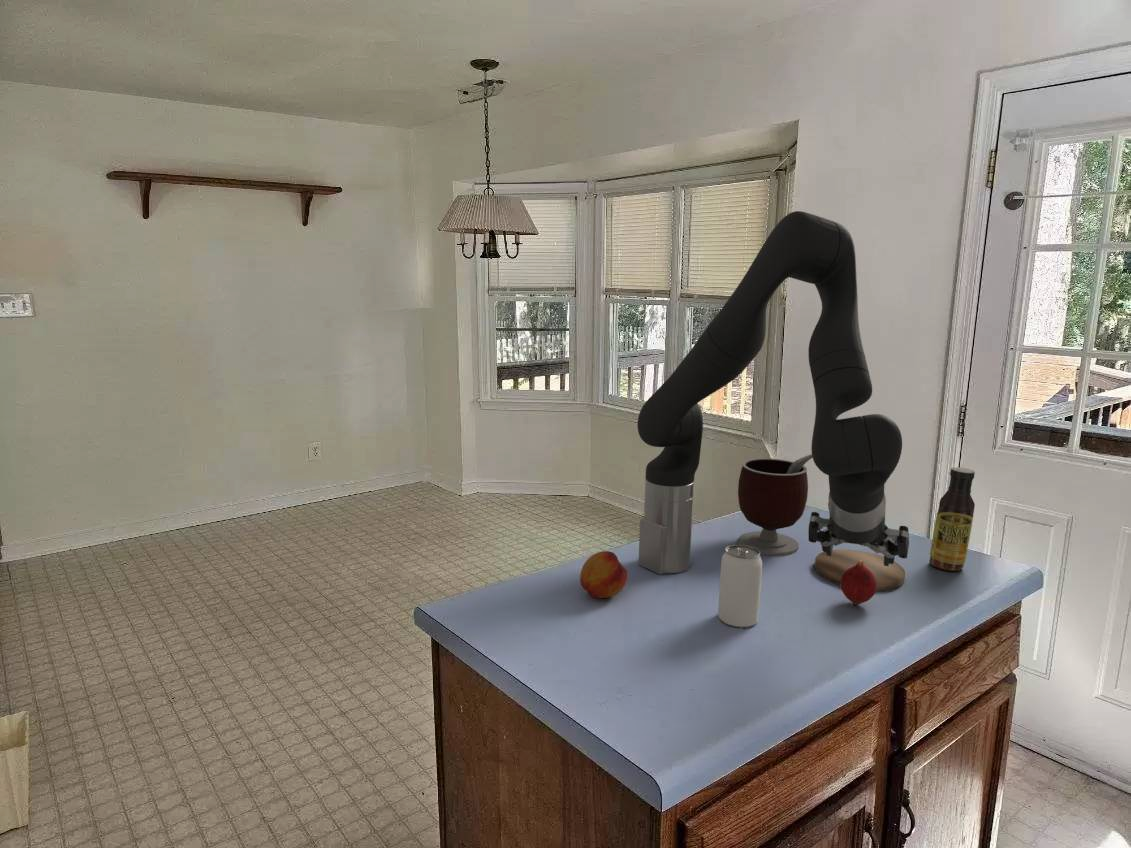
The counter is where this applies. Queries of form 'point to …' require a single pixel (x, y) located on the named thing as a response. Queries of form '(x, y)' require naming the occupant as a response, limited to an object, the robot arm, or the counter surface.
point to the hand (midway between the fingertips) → (857, 555)
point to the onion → (858, 583)
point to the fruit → (603, 575)
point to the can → (740, 586)
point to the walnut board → (846, 559)
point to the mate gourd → (772, 501)
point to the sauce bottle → (953, 522)
